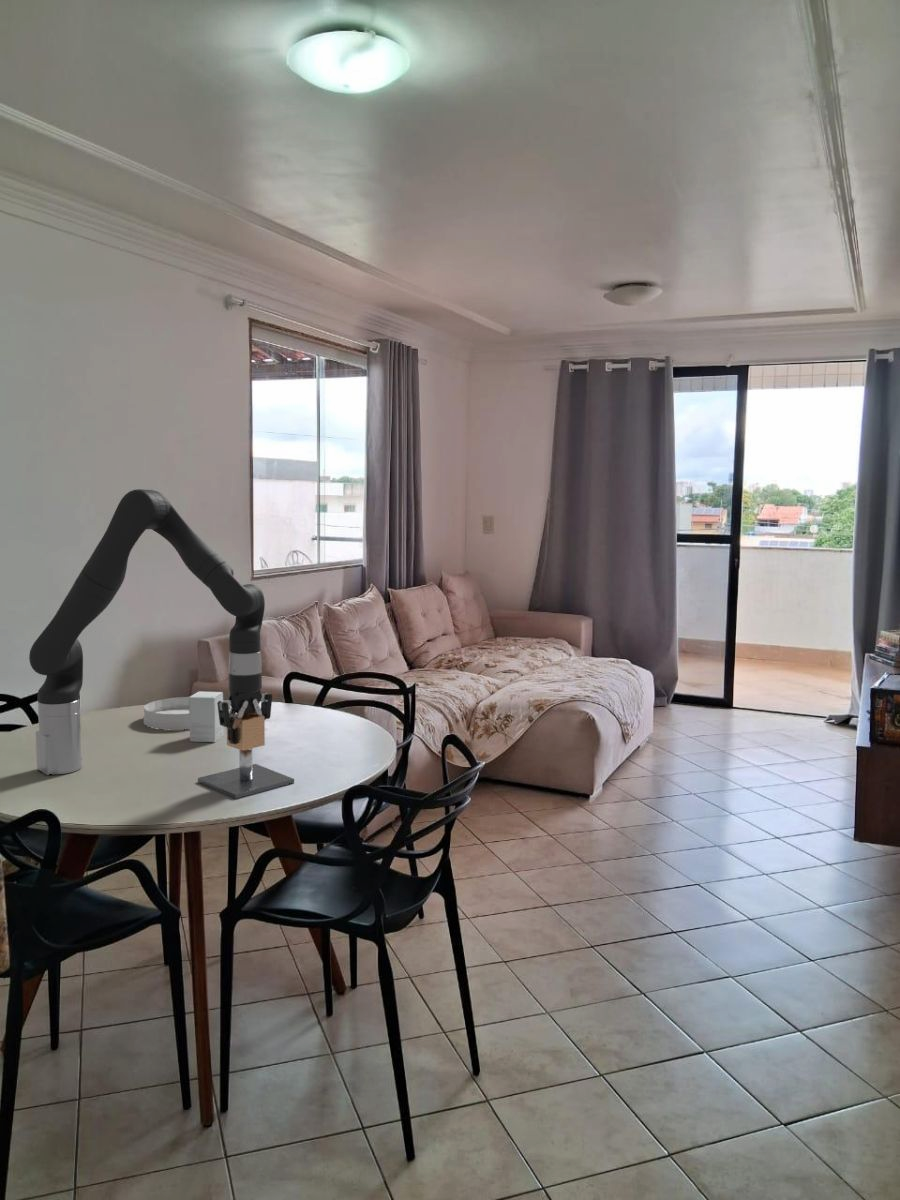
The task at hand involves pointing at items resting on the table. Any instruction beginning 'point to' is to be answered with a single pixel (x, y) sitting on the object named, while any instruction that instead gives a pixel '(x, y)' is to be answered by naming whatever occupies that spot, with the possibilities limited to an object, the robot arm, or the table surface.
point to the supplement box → (205, 717)
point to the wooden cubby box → (249, 732)
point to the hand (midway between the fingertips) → (245, 740)
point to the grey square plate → (245, 778)
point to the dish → (168, 714)
